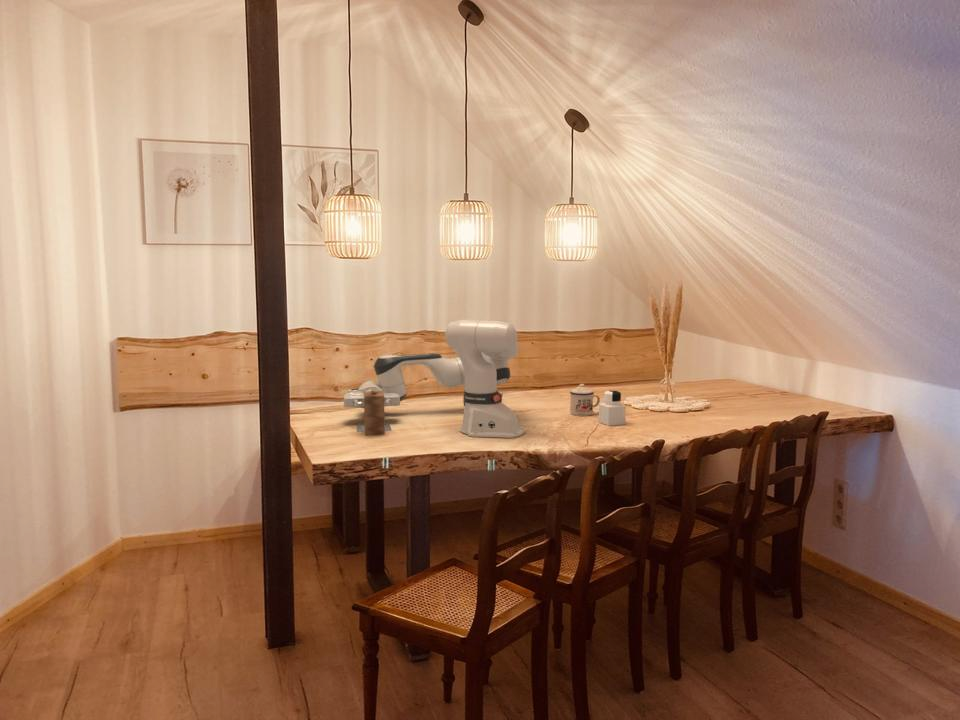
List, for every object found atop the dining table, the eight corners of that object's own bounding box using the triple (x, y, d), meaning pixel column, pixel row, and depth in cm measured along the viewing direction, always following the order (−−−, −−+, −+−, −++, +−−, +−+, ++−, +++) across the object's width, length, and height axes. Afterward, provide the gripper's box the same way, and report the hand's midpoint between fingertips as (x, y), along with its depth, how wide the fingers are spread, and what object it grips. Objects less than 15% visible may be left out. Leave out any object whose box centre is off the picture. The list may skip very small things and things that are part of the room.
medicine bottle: (615, 420, 303) (616, 389, 301) (625, 424, 296) (626, 392, 294) (598, 422, 300) (599, 390, 299) (608, 426, 294) (608, 393, 292)
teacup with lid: (574, 416, 310) (575, 386, 308) (566, 412, 318) (566, 382, 317) (604, 415, 313) (604, 385, 311) (594, 410, 321) (595, 381, 320)
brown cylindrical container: (383, 430, 285) (383, 387, 282) (384, 435, 279) (384, 392, 275) (364, 430, 284) (363, 388, 281) (365, 436, 277) (364, 393, 274)
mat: (389, 424, 296) (389, 423, 296) (391, 431, 284) (391, 430, 284) (356, 425, 294) (356, 424, 294) (356, 432, 282) (356, 431, 282)
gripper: (399, 404, 304) (402, 412, 290) (343, 406, 300) (344, 414, 287) (399, 388, 303) (401, 394, 289) (343, 389, 299) (343, 396, 286)
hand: (372, 404), depth 288 cm, fingers open, 8 cm apart
